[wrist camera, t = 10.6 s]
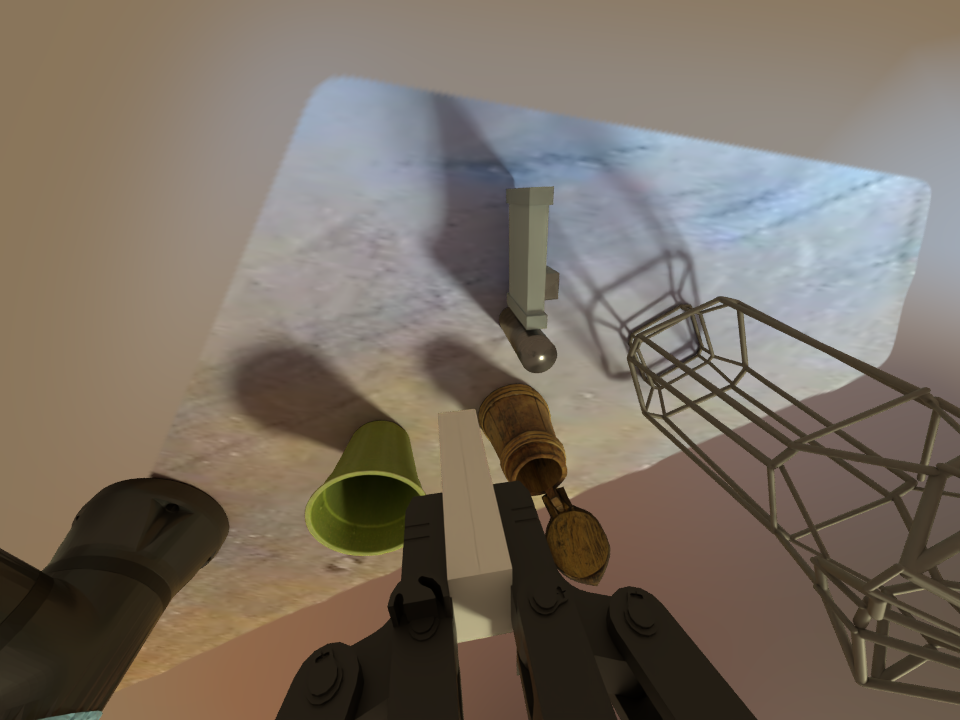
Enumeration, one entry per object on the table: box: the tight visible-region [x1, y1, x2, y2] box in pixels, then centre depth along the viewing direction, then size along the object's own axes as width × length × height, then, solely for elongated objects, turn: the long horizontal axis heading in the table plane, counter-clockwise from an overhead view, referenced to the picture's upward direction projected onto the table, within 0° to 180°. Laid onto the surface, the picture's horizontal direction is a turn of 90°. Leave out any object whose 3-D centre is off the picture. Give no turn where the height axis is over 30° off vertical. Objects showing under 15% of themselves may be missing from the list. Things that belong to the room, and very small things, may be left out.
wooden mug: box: [479, 384, 610, 586], centre depth 37 cm, size 9×14×18 cm, turn 29°
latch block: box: [545, 266, 559, 300], centre depth 34 cm, size 2×2×6 cm
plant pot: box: [305, 421, 426, 556], centre depth 38 cm, size 12×12×11 cm
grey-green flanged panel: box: [506, 186, 554, 330], centre depth 31 cm, size 11×2×8 cm, turn 2°
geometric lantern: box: [627, 296, 960, 705], centre depth 28 cm, size 16×16×35 cm
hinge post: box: [499, 307, 557, 373], centre depth 34 cm, size 3×3×10 cm
